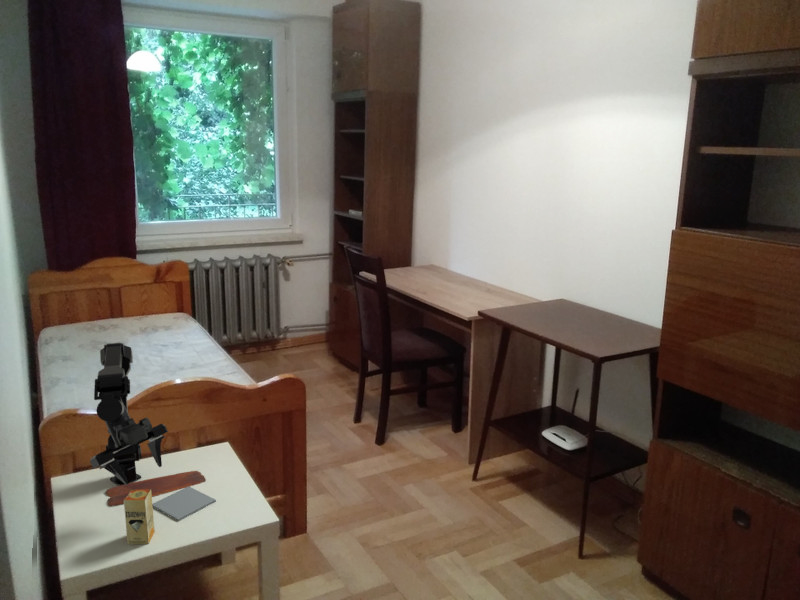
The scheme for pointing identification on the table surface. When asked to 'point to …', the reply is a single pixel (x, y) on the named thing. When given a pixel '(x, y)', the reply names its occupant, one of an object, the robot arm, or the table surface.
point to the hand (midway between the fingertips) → (144, 475)
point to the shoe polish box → (139, 516)
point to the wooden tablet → (155, 486)
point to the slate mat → (183, 503)
